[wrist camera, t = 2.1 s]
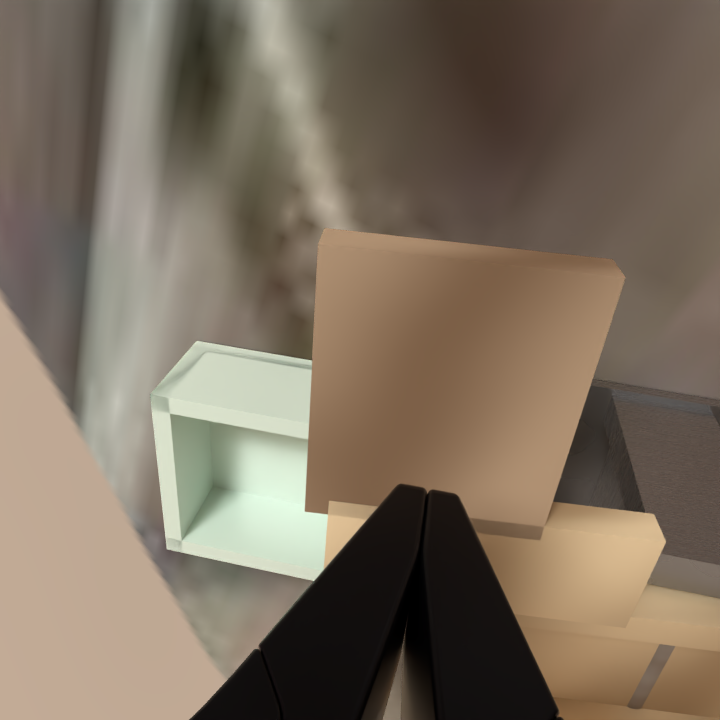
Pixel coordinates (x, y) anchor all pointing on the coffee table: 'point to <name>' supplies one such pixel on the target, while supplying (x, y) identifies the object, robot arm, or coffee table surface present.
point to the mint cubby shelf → (238, 459)
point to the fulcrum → (654, 473)
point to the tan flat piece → (501, 453)
